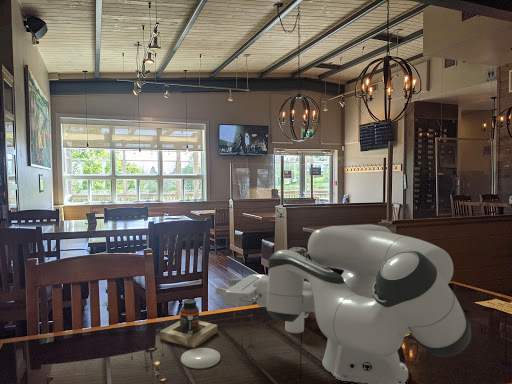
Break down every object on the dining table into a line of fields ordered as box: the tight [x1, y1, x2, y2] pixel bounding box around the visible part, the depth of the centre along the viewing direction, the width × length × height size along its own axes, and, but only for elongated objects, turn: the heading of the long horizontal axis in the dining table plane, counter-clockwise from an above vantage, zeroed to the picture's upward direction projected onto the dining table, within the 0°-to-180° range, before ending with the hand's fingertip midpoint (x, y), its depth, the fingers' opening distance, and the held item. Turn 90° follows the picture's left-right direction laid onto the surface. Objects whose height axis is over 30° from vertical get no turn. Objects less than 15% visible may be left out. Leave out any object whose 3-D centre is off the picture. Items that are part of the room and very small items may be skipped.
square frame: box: [159, 320, 218, 349], centre depth 125 cm, size 13×13×2 cm
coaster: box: [180, 347, 221, 370], centre depth 110 cm, size 11×11×1 cm
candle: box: [284, 312, 305, 334], centre depth 131 cm, size 6×6×15 cm
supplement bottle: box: [179, 298, 200, 335], centre depth 125 cm, size 6×6×11 cm
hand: (223, 286), depth 120 cm, fingers open, 8 cm apart
